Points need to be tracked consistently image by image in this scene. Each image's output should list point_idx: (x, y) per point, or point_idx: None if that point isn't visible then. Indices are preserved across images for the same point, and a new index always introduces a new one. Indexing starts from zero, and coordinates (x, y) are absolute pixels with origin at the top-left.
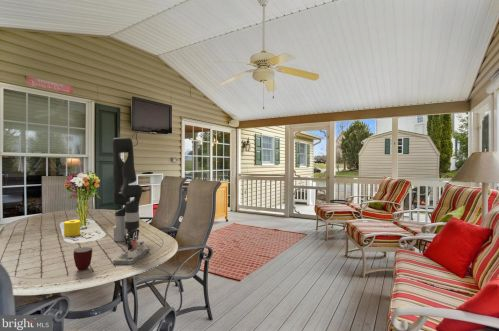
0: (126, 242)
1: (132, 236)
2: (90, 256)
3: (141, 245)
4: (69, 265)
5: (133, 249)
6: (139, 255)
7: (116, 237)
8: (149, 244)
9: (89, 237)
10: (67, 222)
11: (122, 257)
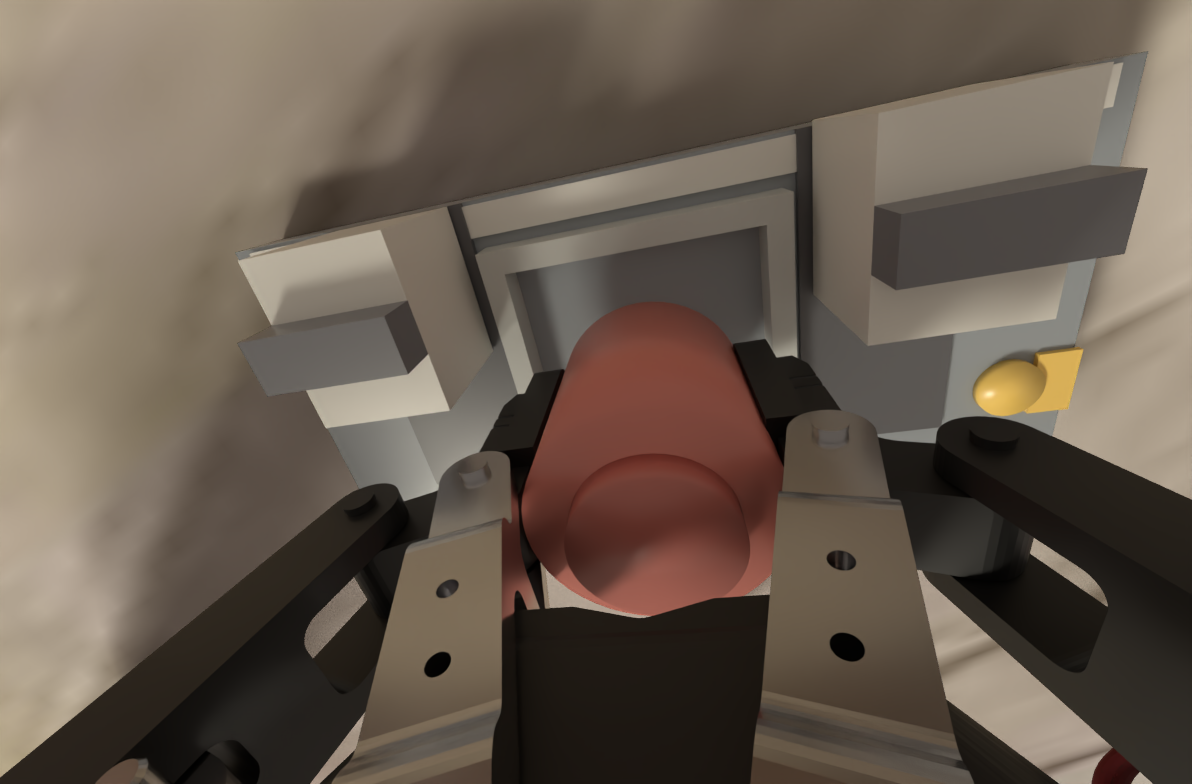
0: (1041, 584)
1: (938, 693)
2: None
3: (416, 296)
4: None
5: (1033, 185)
6: (683, 152)
7: None
8: (64, 406)
9: None
10: None
11: (912, 387)
